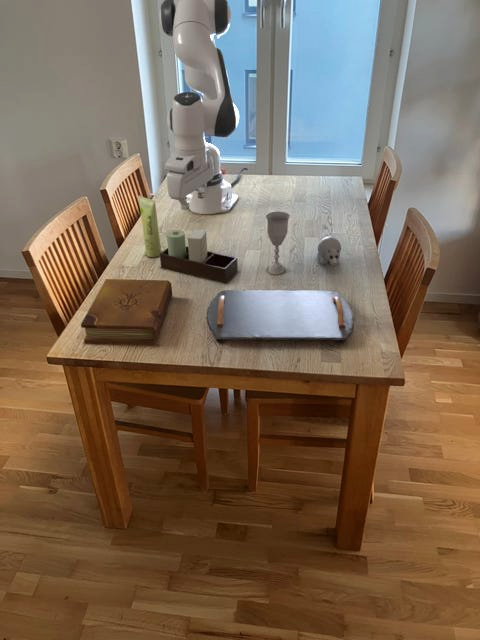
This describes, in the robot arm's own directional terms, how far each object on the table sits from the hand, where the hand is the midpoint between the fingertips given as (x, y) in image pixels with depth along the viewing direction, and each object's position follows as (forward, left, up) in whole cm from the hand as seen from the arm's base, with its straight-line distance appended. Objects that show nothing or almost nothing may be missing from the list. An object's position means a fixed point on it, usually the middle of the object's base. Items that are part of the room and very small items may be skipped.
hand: (193, 203), depth 154 cm
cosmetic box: (+2, +2, -21) cm, 21 cm away
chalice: (-8, +24, -21) cm, 33 cm away
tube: (-1, -17, -21) cm, 28 cm away
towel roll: (+2, -6, -21) cm, 22 cm away
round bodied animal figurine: (-18, +38, -21) cm, 47 cm away
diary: (+33, -1, -21) cm, 39 cm away
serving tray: (+17, +35, -21) cm, 45 cm away
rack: (+2, +2, -21) cm, 21 cm away
